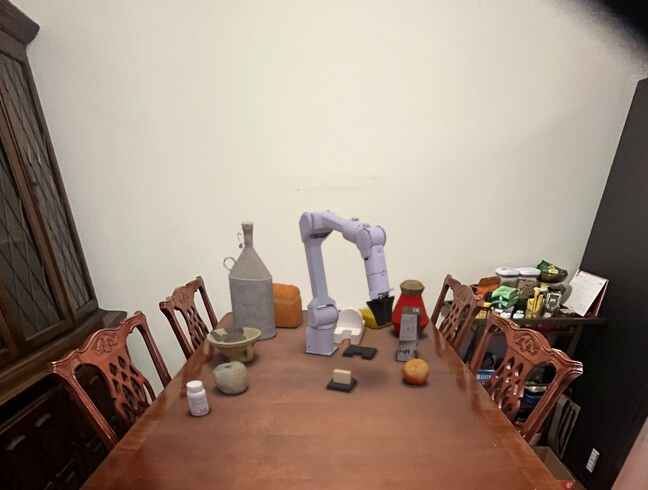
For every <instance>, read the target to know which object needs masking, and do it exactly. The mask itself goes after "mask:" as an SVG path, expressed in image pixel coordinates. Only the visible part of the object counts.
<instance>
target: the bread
mask: <svg viewBox="0 0 648 490" xmlns="http://www.w3.org/2000/svg"><path fill="white" fill-rule="evenodd" d="M273 298H274V314H275V328H297V327H298V326H300V325H301V323H302V322H303V302H302V301H303V300H302V296H301V291H300V288H299V287H298V286H296V285H293V284H285V283H279V282H278V283H277V282H273Z"/></svg>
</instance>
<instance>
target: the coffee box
mask: <svg viewBox="0 0 648 490" xmlns="http://www.w3.org/2000/svg"><path fill="white" fill-rule="evenodd" d="M421 315H422V308H421V307H404V306H403V308H402V315H401V325H400V335H399V337H398V346H397V347H398V348H397V356H396V357H397V358H396V360H397V362H398V361H400V362H408V361H409V360H412V359H417V353H418V346H419V338H420V336H419V332H420V323H421Z"/></svg>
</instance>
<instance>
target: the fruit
mask: <svg viewBox="0 0 648 490" xmlns="http://www.w3.org/2000/svg"><path fill="white" fill-rule="evenodd" d="M401 373H402V376H403V378H404V380H405V381H406V383H407V384H410V385H423V384H425V383H426V382H427V380H428V378H429V376H430V375H429V374H430V366H429V363H427V362H426V361H425V360H424V359H423V358H416V359H412V360H409V361H405V362H404V364H403V366H402V368H401Z"/></svg>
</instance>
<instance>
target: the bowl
mask: <svg viewBox="0 0 648 490" xmlns="http://www.w3.org/2000/svg"><path fill="white" fill-rule="evenodd" d="M260 336H261V331H260V330H258V329H254V328H246V327H234V326H233V327H222V328H218V329H217V328H216V329H214V330H212V331H210V332H208V333H207V334H206V339H207V341H208V343H209V344H210V345H211V346H213V347H215V348H216V349H217V350H218V351H219V352H220V353H221V354H222V356H224V360H225V362H226V363H231V362H240V363H242V364H244V363H249V362H252V360H253V359H254V346H255V344H256V342H257V341H259V340H258V338H260Z"/></svg>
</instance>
